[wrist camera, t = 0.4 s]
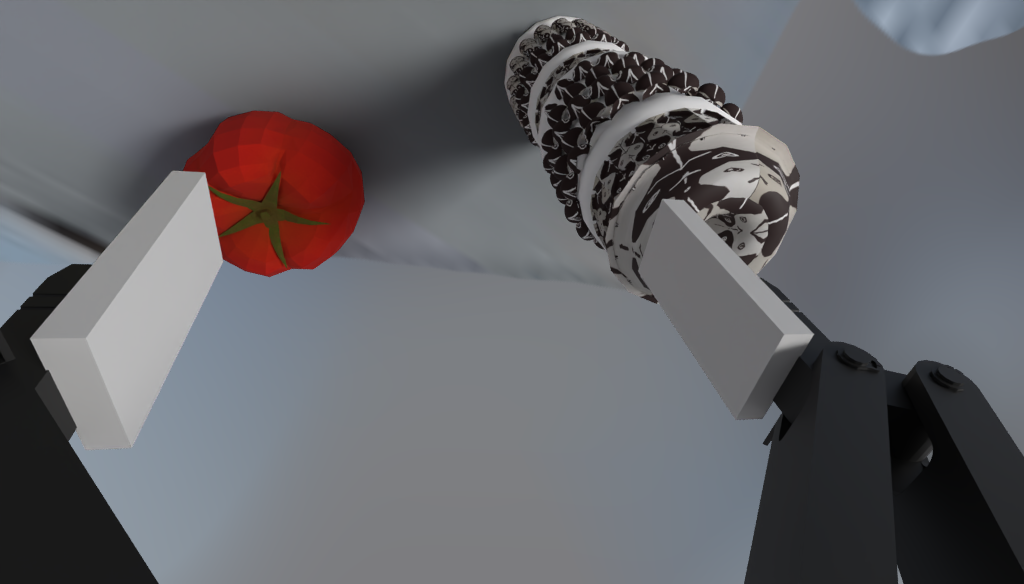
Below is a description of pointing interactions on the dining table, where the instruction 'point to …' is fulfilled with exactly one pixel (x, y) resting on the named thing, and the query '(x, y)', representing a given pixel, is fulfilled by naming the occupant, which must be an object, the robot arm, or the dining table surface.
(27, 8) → the dining table surface
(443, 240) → the dining table surface
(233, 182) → the tomato
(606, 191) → the decorative candle
